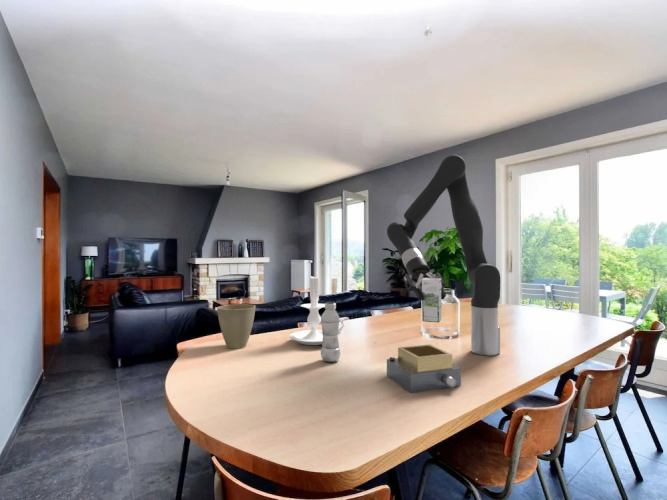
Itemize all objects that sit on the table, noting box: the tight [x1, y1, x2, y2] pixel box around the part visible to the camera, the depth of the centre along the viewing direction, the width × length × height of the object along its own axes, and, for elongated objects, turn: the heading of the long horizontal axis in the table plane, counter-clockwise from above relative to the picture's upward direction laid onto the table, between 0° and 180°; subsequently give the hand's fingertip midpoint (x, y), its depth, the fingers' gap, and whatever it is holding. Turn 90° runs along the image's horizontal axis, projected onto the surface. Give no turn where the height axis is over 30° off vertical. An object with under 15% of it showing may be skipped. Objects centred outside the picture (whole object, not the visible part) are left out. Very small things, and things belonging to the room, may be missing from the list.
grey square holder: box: [386, 344, 462, 394], centre depth 102 cm, size 16×17×9 cm
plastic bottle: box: [320, 302, 341, 363], centre depth 122 cm, size 6×7×20 cm
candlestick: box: [289, 275, 345, 346], centre depth 147 cm, size 21×25×28 cm
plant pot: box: [216, 303, 256, 350], centre depth 141 cm, size 15×15×16 cm
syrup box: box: [421, 278, 443, 324], centre depth 119 cm, size 6×6×14 cm
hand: (433, 298), depth 118 cm, fingers closed on syrup box, 8 cm apart
